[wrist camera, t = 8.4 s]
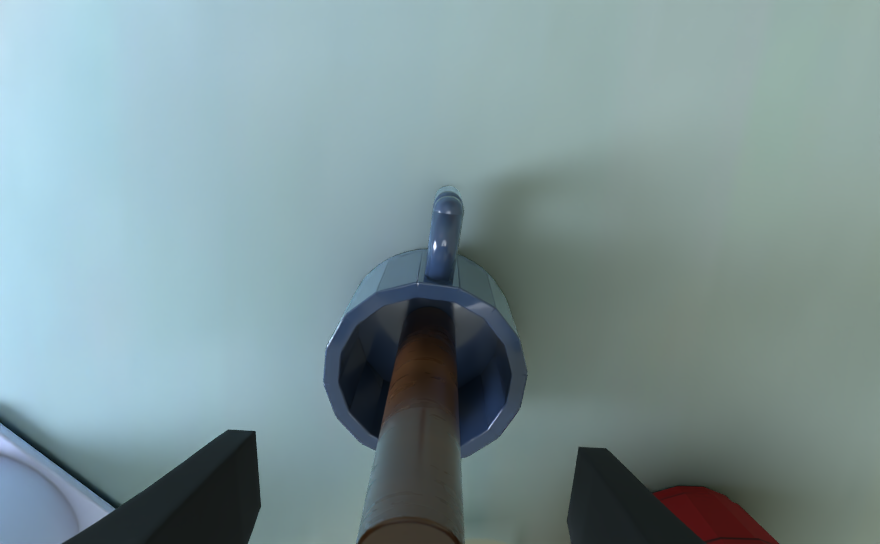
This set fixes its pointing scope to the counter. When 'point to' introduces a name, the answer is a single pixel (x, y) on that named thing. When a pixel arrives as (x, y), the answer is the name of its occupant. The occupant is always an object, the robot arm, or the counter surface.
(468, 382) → the coffee cup
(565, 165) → the counter surface
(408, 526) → the stirrer
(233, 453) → the robot arm
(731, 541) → the plastic cup
